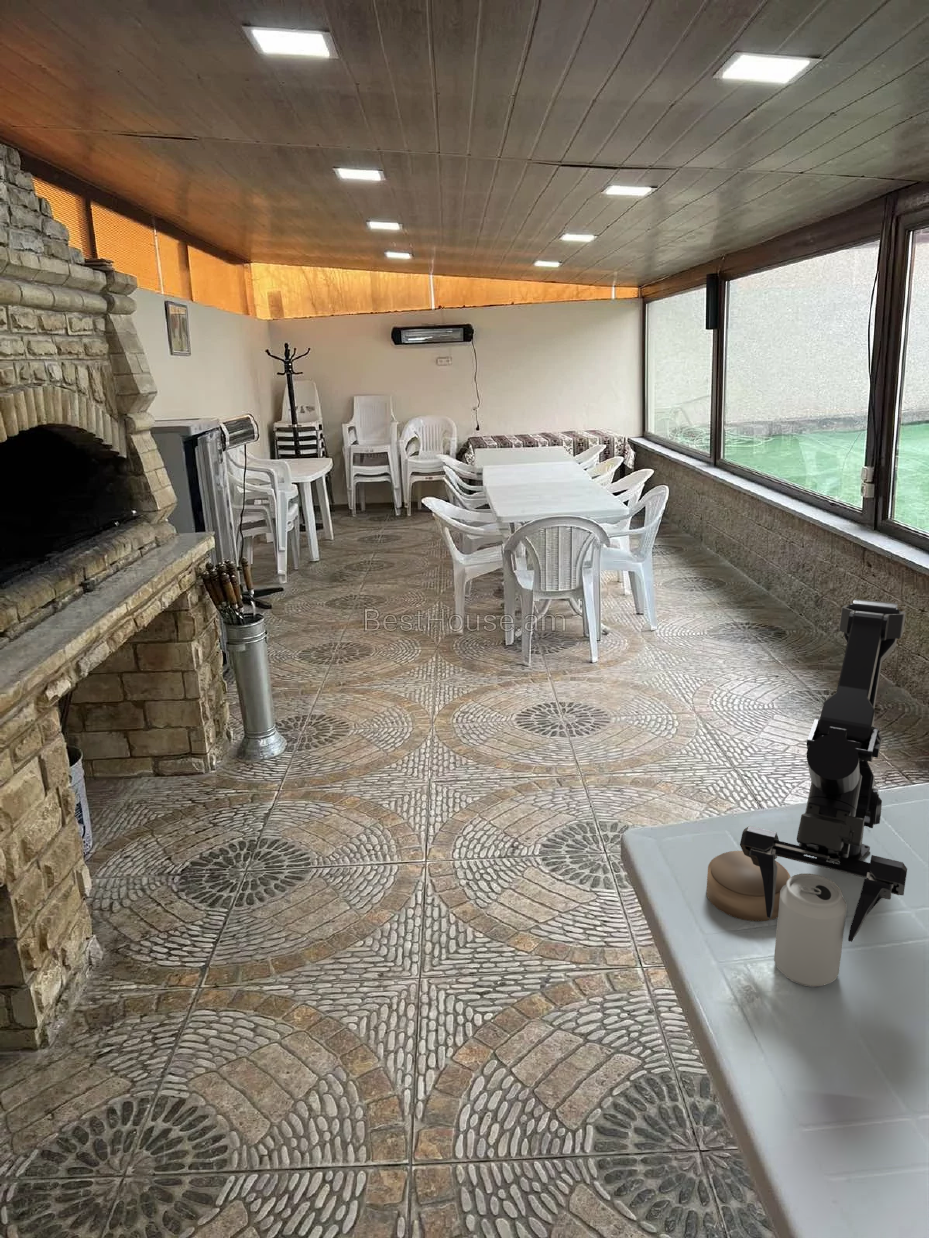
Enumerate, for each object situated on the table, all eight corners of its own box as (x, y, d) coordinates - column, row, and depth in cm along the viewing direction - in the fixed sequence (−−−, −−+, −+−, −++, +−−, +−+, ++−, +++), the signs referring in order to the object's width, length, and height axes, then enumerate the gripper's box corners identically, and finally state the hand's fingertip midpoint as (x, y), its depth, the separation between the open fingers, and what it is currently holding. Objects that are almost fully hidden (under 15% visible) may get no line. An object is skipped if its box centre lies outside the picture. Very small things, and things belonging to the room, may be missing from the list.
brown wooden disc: (731, 863, 128) (733, 840, 126) (803, 894, 120) (805, 870, 119) (691, 896, 121) (692, 872, 119) (764, 932, 113) (766, 906, 112)
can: (844, 995, 102) (854, 909, 98) (777, 987, 103) (785, 903, 100) (831, 952, 109) (841, 871, 105) (769, 946, 110) (776, 866, 107)
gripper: (748, 768, 107) (720, 892, 101) (916, 803, 98) (896, 941, 92) (758, 796, 116) (732, 911, 110) (913, 830, 107) (894, 958, 101)
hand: (808, 929), depth 103 cm, fingers open, 9 cm apart
